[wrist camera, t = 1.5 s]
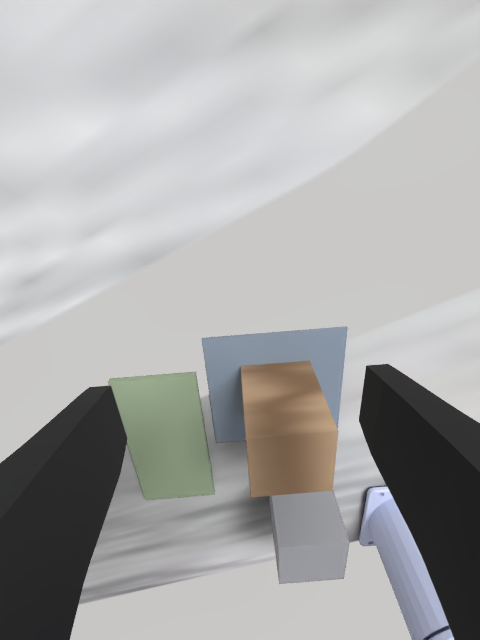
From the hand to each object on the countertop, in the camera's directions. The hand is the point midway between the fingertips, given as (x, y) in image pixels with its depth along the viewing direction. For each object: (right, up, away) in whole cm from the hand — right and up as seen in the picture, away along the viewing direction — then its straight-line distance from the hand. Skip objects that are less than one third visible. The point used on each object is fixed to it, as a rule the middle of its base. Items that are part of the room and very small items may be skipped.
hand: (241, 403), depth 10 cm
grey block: (+5, -11, +18) cm, 21 cm away
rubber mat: (-5, -7, +15) cm, 17 cm away
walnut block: (+2, -2, +13) cm, 13 cm away
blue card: (+2, -2, +13) cm, 13 cm away
